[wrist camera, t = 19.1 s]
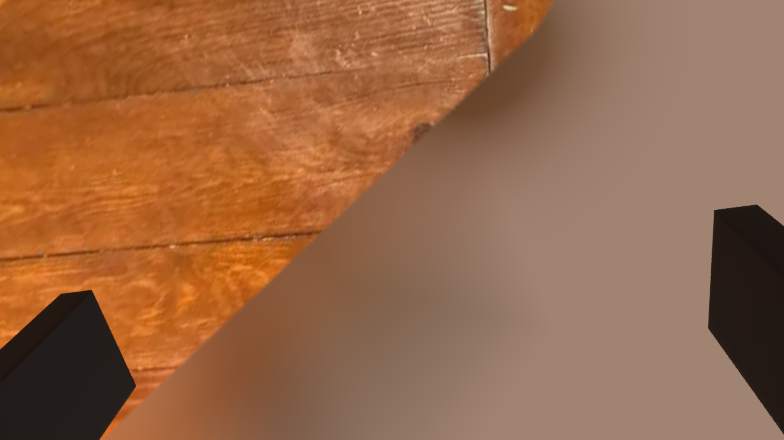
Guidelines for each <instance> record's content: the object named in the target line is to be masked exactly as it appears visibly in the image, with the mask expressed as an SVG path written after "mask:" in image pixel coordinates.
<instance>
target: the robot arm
mask: <svg viewBox="0 0 784 440" xmlns="http://www.w3.org/2000/svg"><path fill="white" fill-rule="evenodd" d="M713 225H714V226H713V245H712V263H711V283H710V301H709V302H710V303H709V323H708V328H709V330H710V331H711V333H712V334H713V336H714V337H715V338H716V340H717V341H718V343H719V344H720V345H721V347H722V348H723V350H724V351H725V352H726V354H727V355H728V357H729V358H730V359H731V360H732V362H733V364H734V365H735V366H736V368H737V369H738V371H739V372H740V374H741V375H742V376H743V378H744V379H745V381H746V382H747V383H748V385H749V386H750V387H751V389H752V390H753V392H754V393H755V394H756V396H757V397H758V399H759V400H760V402H761V403H762V404H763V406H764V407H765V409H766V410H767V411H768V413H769V414H770V416H771V417H772V418H773V420H774V421H775V423H776V424H777V425H778V427H779V428H780V430H781V431H782V432H783V434H784V226H783V225H781V223H779V222H778V221H777V220H776V219H774V218H773V217H772V216H771V215H769V214H768V213H767V212H766V211H764V210H763V209H762V208H761V207H759V206H758V205H750V206H742V207H735V208H727V209H719V210H714V224H713ZM135 387H136V385H135V382H134V380H133V378H132V376H131V374H130V372H129V369H128V367H127V365H126V363H125V361H124V359H123V357H122V354H121V352H120V350H119V348H118V346H117V344H116V341H115V339H114V337H113V335H112V333H111V331H110V328H109V326H108V324H107V322H106V320H105V318H104V315H103V313H102V311H101V309H100V307H99V305H98V302H97V300H96V298H95V296H94V294H93V292H92V290H88V291H80V292H72V293H64V294H60V295H59V296H58V297H57V298H56V299H55V300H54V301H53V302H52V303H50V304H49V305H48V306H47V307H46V308H45V309H44V310H43V311H42V312H41V313H40V314H38V315H37V316H36V317H35V318H34V319H33V320H32V321H31V322H30V323H29V324H28V325H26V326H25V327H24V328H23V329H22V330H21V331H20V332H19V333H18V334H17V335H16V336H14V337H13V338H12V339H11V340H10V341H9V342H8V343H7V344H6V345H5V346H4V347H2V348H1V349H0V440H99V439H100V438H101V437H102V435H103V434H104V432H105V431H106V429H107V428H108V426H109V425H110V423H111V422H112V421H113V419H114V418H115V416H116V415H117V413H118V412H119V410H120V409H121V407H122V406H123V405H124V403H125V402H126V400H127V399H128V397H129V396H130V394H131V393H132V391H133V390H134V389H135Z"/></svg>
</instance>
